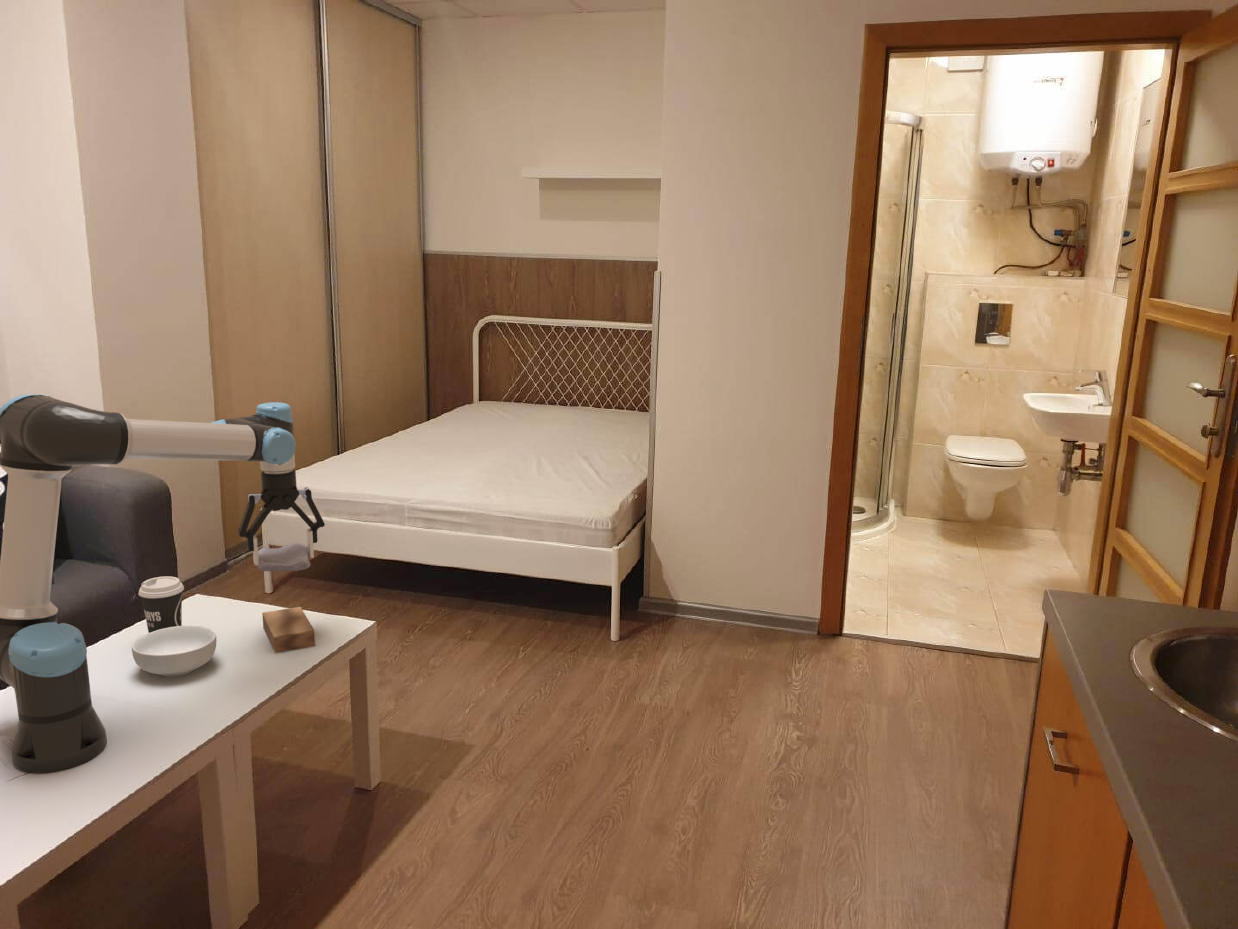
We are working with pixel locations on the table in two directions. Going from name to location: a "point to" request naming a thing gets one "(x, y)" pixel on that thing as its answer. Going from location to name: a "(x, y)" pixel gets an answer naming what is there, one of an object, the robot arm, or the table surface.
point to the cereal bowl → (174, 650)
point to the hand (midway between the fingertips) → (284, 560)
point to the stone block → (284, 558)
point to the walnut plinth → (288, 629)
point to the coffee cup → (162, 602)
